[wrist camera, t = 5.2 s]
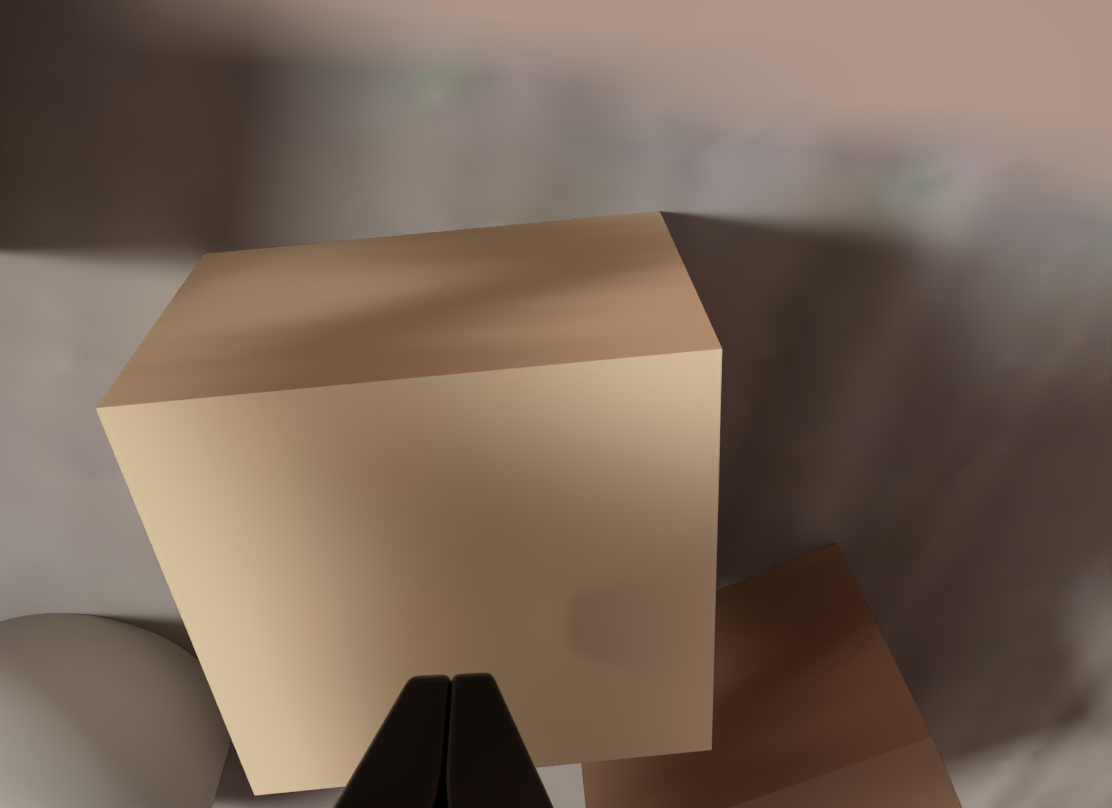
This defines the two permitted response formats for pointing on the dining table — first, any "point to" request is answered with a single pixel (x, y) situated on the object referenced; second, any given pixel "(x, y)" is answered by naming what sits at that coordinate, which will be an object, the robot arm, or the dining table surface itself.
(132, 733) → the grey rounded cylinder
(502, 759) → the robot arm
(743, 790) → the walnut block
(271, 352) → the maple block
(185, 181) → the dining table surface
